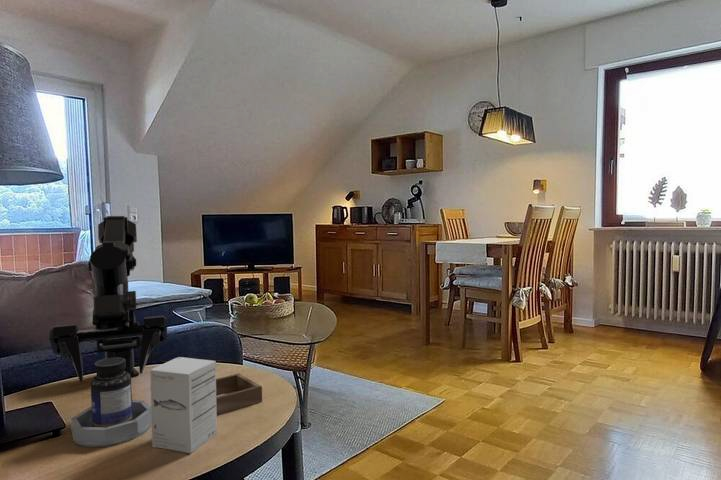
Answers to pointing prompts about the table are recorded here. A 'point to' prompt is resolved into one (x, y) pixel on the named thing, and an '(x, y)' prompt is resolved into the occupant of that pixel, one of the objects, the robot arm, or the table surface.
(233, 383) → the holder
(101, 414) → the pill bottle
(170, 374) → the supplement box
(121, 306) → the robot arm
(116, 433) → the tray
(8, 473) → the table surface
